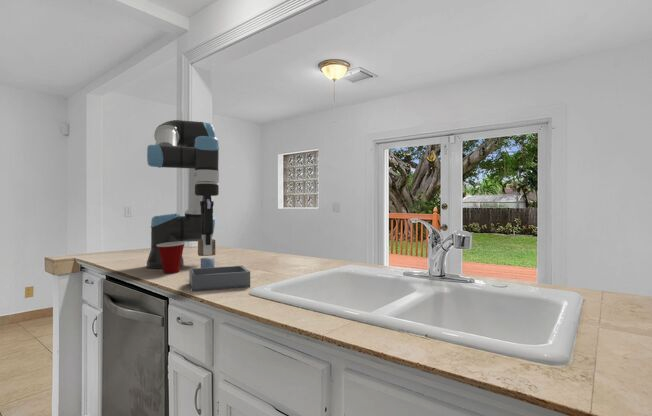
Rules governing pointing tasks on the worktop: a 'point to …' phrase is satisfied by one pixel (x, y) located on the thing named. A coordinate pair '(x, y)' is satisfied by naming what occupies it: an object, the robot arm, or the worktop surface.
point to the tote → (218, 278)
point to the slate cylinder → (207, 262)
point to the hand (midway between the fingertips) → (206, 253)
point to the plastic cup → (171, 256)
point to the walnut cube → (200, 248)
